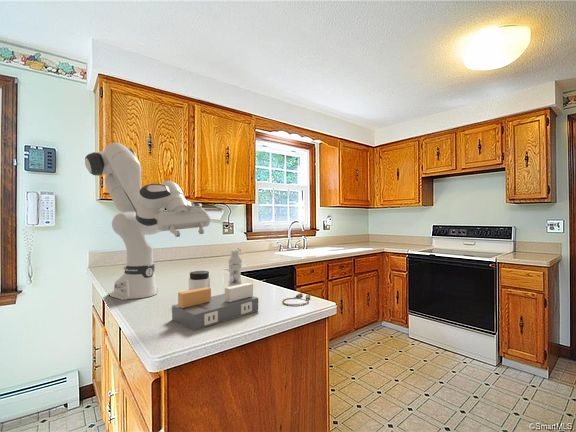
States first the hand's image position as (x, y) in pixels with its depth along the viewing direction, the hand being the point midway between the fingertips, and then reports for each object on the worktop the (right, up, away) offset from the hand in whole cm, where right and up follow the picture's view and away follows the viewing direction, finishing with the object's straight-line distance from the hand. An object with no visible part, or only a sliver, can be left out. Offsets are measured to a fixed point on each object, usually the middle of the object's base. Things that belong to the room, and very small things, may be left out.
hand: (190, 234), depth 114 cm
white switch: (+19, -24, -2) cm, 31 cm away
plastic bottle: (+12, -30, +29) cm, 43 cm away
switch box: (+9, -29, -3) cm, 31 cm away
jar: (-1, -30, +16) cm, 34 cm away
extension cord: (+42, -30, +13) cm, 53 cm away
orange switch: (+5, -24, -9) cm, 26 cm away
